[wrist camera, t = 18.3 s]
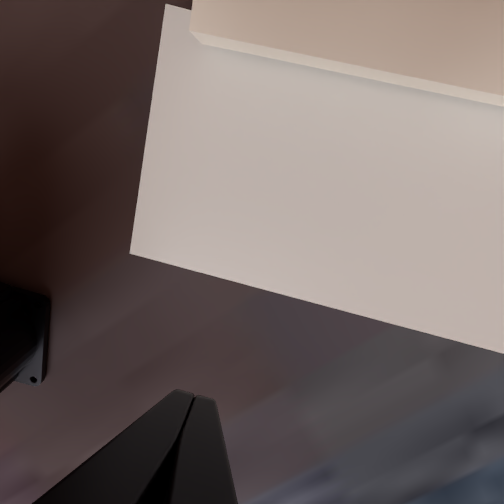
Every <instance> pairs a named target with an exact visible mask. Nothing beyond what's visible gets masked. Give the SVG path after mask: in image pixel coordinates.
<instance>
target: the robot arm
mask: <svg viewBox="0 0 504 504" xmlns="http://www.w3.org/2000/svg"><path fill="white" fill-rule="evenodd" d="M38 301H39V302H40V303H41V304H42V306H41V305H40V304H39V303H38ZM49 313H50V301H49V299H48V298H47V297H46V296H44V295H42V294H38V293H34V292H31V291H27V290H23V289H20V288H16V287H12V286H11V285H9V284H5V283H2V282H0V393H1V392H2V391H3V390H4V389H5V388H7V387H8V386H9V385H10V384H11V383H12V382H13V381H17V382H21V383H24V384H28V385H31V386H39V385H40V384H41V383H42V382H43V381H44V379H45V369H46V355H47V341H48V327H49ZM35 377H36V378H35ZM32 504H238V502H237V497H236V493H235V488H234V483H233V479H232V474H231V469H230V465H229V460H228V455H227V451H226V446H225V442H224V437H223V432H222V428H221V423H220V418H219V414H218V409H217V404H216V401H215V400H214V399H211V398H208V397H204V396H201V395H197V396H196V397H195V398H194V394H193V393H190V392H186V391H182V390H179V389H176V390H174V391H172V392H171V393H170V394H168V395H167V396H166V397H165V398H163V399H162V400H161V401H160V402H158V403H157V404H156V405H155V406H153V407H152V408H151V409H150V410H148V411H147V412H146V413H145V414H143V415H142V416H141V417H140V418H138V419H137V420H136V421H135V422H133V423H132V424H131V425H130V426H128V427H127V428H126V429H125V430H123V431H122V432H121V433H120V434H118V435H117V436H116V437H115V438H113V439H112V440H111V441H110V442H108V443H107V444H106V445H105V446H103V447H102V448H101V449H100V450H98V451H97V452H96V453H95V454H93V455H92V456H91V457H90V458H88V459H87V460H86V461H85V462H83V463H82V464H81V465H80V466H78V467H77V468H76V469H75V470H73V471H72V472H71V473H70V474H68V475H67V476H66V477H65V478H63V479H62V480H61V481H60V482H58V483H57V484H56V485H55V486H53V487H52V488H51V489H50V490H48V491H47V492H46V493H45V494H43V495H42V496H41V497H40V498H38V499H37V500H36V501H35V502H33V503H32Z"/></svg>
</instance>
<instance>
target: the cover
mask: <svg viewBox="0 0 504 504" xmlns="http://www.w3.org/2000/svg"><path fill="white" fill-rule="evenodd" d="M189 31H190V32H191V33H192V34H193V35H194V36H195V37H196V38H197V39H198V40H199V41H200V42H201V43H202V44H205V45H209V46H214V47H219V48H224V49H229V50H233V51H238V52H243V53H248V54H253V55H257V56H262V57H267V58H272V59H277V60H281V61H286V62H291V63H296V64H301V65H305V66H310V67H315V68H320V69H324V70H329V71H334V72H339V73H344V74H348V75H353V76H358V77H363V78H368V79H372V80H377V81H382V82H387V83H392V84H396V85H401V86H406V87H411V88H416V89H420V90H425V91H430V92H435V93H440V94H444V95H449V96H454V97H459V98H464V99H468V100H473V101H478V102H483V103H488V104H492V105H497V106H502V107H504V0H193V3H192V11H191V19H190V27H189Z"/></svg>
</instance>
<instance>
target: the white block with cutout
mask: <svg viewBox="0 0 504 504" xmlns="http://www.w3.org/2000/svg"><path fill="white" fill-rule="evenodd" d="M191 11H192V10H188V9H184V8H180V7H176V6H172V5H169V4H166V5H165V12H164V19H163V26H162V33H161V40H160V47H159V54H158V61H157V68H156V74H155V81H154V88H153V95H152V102H151V109H150V116H149V123H148V130H147V137H146V144H145V151H144V158H143V165H142V172H141V179H140V185H139V192H138V199H137V206H136V213H135V220H134V227H133V234H132V241H131V248H130V254H134V255H137V256H141V257H145V258H148V259H152V260H156V261H160V262H163V263H167V264H171V265H175V266H178V267H182V268H186V269H190V270H193V271H197V272H201V273H205V274H208V275H212V276H216V277H219V278H223V279H227V280H231V281H234V282H238V283H242V284H246V285H249V286H253V287H257V288H261V289H264V290H268V291H272V292H275V293H279V294H283V295H287V296H290V297H294V298H298V299H302V300H305V301H309V302H313V303H317V304H320V305H324V306H328V307H332V308H335V309H339V310H343V311H346V312H350V313H354V314H358V315H361V316H365V317H369V318H373V319H376V320H380V321H384V322H388V323H391V324H395V325H399V326H402V327H406V328H410V329H414V330H417V331H421V332H425V333H429V334H432V335H436V336H440V337H444V338H447V339H451V340H455V341H458V342H462V343H466V344H470V345H473V346H477V347H481V348H485V349H488V350H492V351H496V352H500V353H503V354H504V107H502V106H497V105H492V104H488V103H483V102H478V101H473V100H468V99H464V98H459V97H454V96H449V95H444V94H440V93H435V92H430V91H425V90H420V89H416V88H411V87H406V86H401V85H396V84H392V83H387V82H382V81H377V80H372V79H368V78H363V77H358V76H353V75H348V74H344V73H339V72H334V71H329V70H324V69H320V68H315V67H310V66H305V65H301V64H296V63H291V62H286V61H281V60H277V59H272V58H267V57H262V56H257V55H253V54H248V53H243V52H238V51H233V50H229V49H224V48H219V47H214V46H209V45H205V44H202V43H201V42H200V41H199V40H198V39H197V38H196V37H195V36H194V35H193V34H192V33H191V32H190V31H189V27H190V19H191Z"/></svg>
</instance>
